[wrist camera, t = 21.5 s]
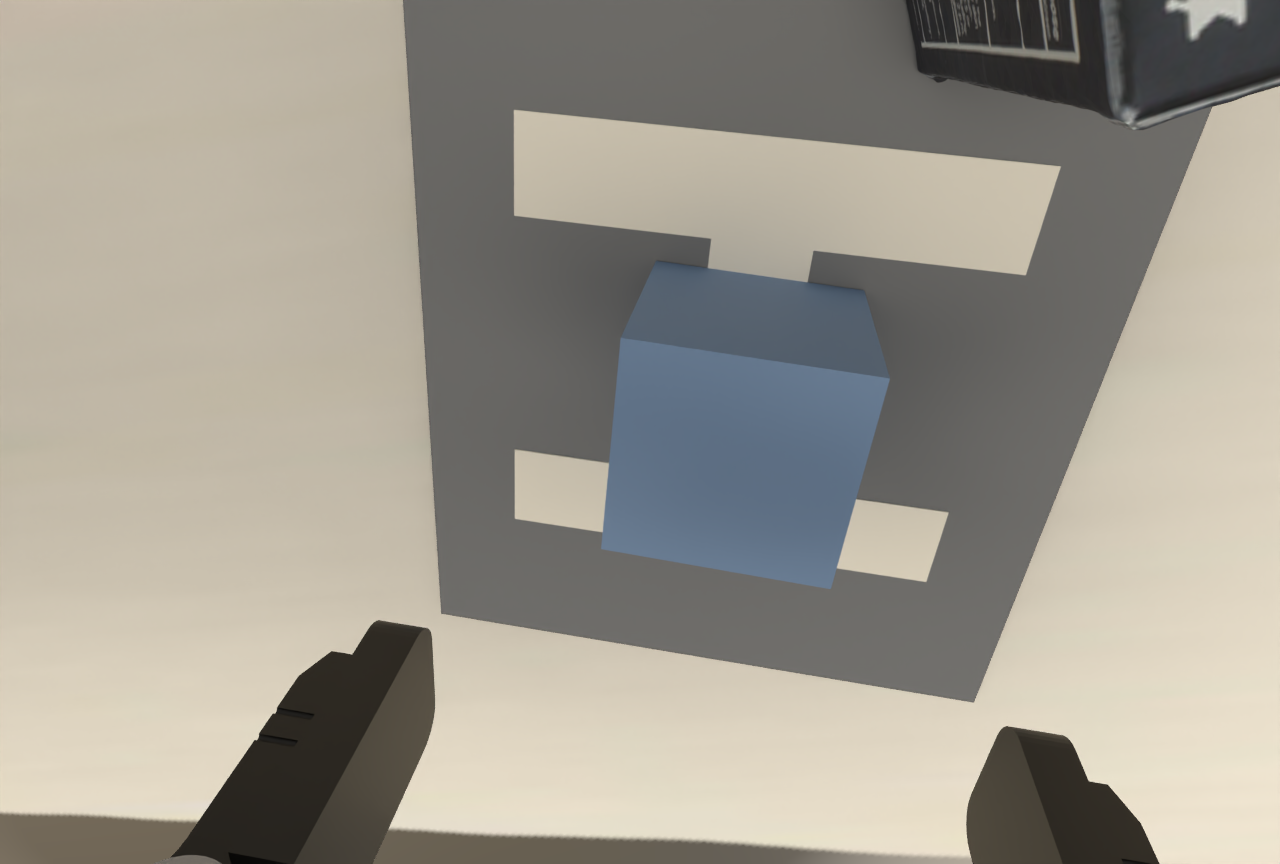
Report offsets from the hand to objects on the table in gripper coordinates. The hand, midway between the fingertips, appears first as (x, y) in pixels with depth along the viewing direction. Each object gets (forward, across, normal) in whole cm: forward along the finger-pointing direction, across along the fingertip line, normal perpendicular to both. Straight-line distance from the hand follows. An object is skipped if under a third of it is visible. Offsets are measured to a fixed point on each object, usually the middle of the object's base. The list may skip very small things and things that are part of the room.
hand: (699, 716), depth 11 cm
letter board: (+11, 0, -1) cm, 11 cm away
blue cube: (+11, 0, -1) cm, 11 cm away
